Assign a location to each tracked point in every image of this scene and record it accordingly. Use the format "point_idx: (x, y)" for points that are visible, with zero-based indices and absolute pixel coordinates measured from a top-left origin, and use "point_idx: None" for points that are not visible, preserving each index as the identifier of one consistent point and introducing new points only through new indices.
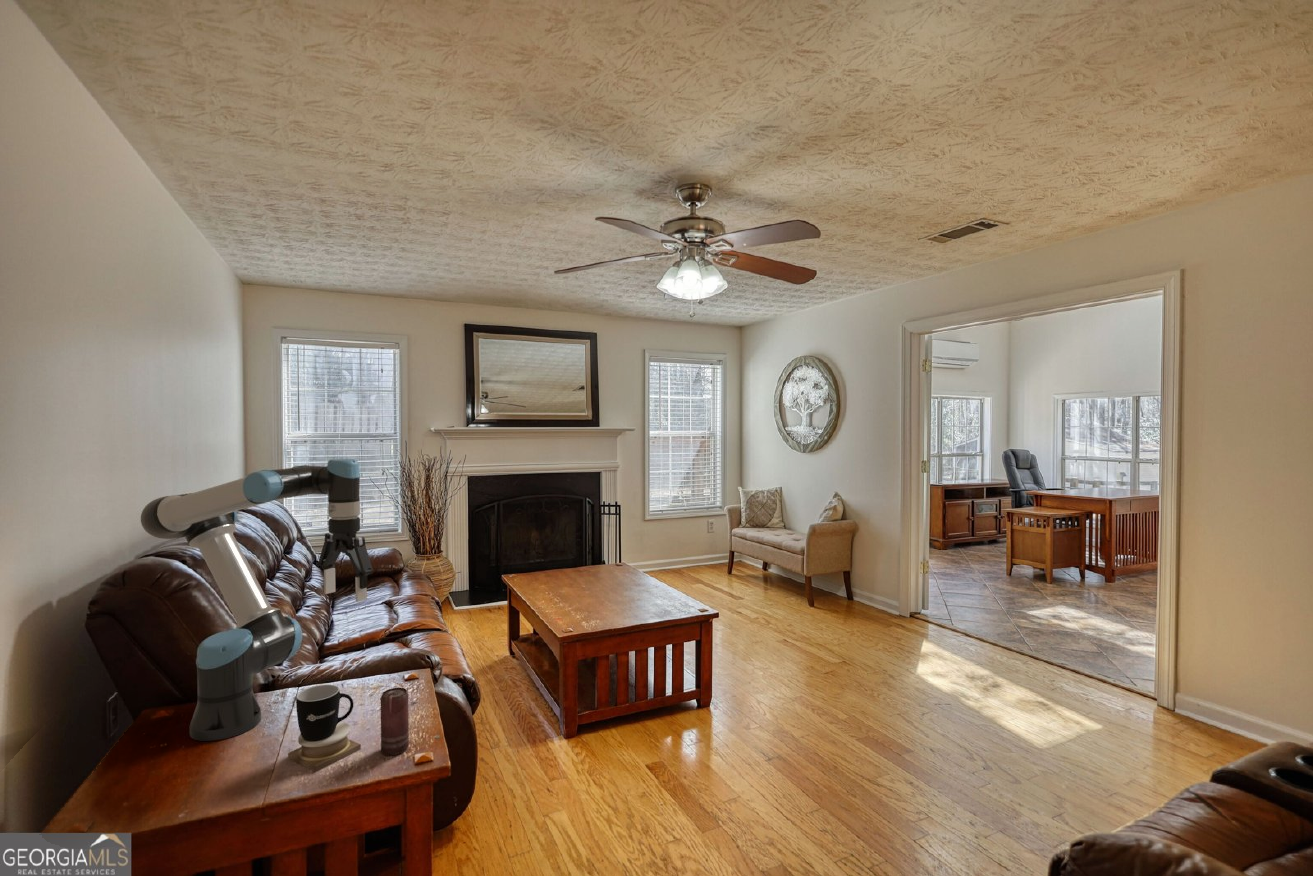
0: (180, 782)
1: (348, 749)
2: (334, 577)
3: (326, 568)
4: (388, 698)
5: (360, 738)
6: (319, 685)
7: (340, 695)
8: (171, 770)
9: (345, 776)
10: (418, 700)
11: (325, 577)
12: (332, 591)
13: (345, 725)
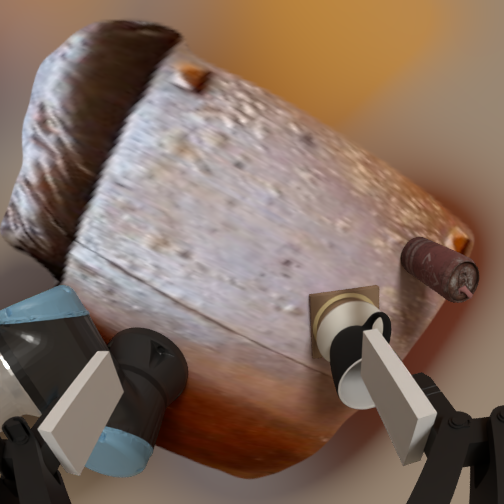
0: (259, 431)
1: (377, 305)
2: (79, 401)
3: (56, 466)
4: (467, 298)
5: (348, 269)
6: (346, 372)
7: None
8: (222, 429)
9: (412, 325)
10: (305, 128)
11: (91, 445)
12: (112, 368)
13: (359, 306)
